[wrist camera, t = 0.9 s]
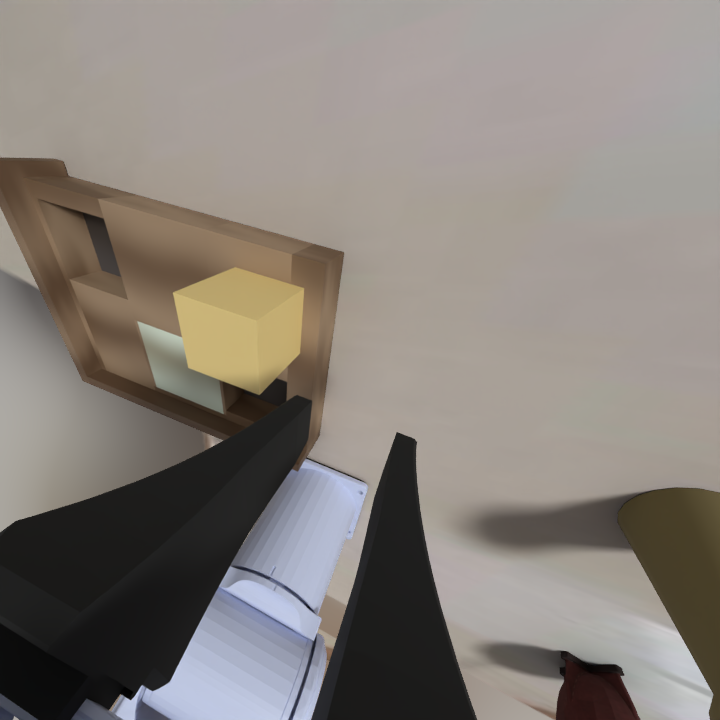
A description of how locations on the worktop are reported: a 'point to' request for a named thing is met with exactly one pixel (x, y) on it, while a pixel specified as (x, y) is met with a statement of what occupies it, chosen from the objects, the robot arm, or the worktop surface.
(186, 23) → the worktop surface
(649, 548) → the cork
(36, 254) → the board
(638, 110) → the worktop surface
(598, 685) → the mate gourd
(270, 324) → the ochre block
